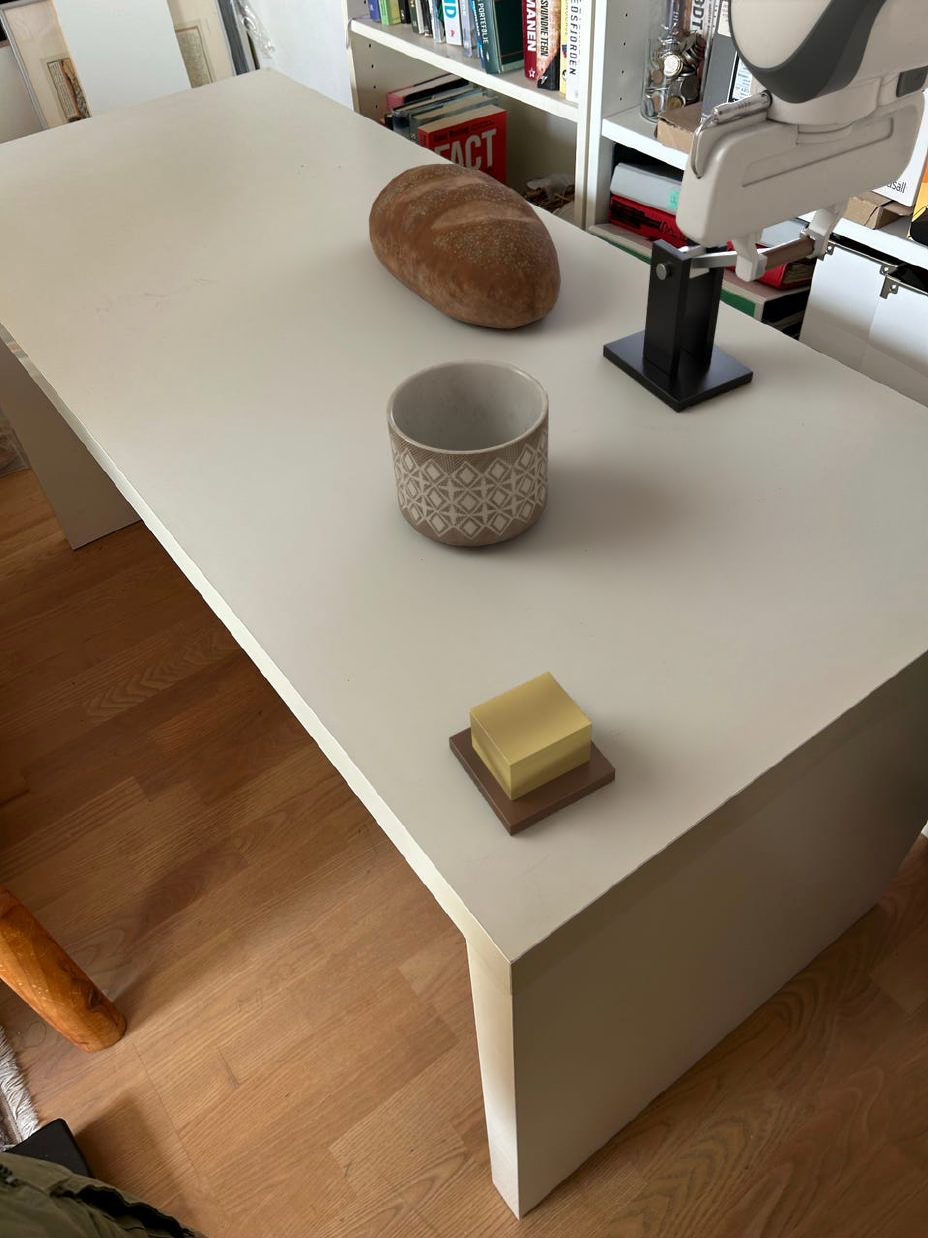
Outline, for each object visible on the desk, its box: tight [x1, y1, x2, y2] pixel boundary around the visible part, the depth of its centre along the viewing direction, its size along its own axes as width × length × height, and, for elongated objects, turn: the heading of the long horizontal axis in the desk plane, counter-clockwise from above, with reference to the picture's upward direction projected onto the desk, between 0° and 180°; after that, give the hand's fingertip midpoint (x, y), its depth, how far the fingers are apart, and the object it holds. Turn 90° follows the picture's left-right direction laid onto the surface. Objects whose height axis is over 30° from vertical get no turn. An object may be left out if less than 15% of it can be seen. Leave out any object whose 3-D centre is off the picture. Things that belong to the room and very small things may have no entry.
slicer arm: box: [677, 236, 812, 279], centre depth 82 cm, size 14×5×2 cm, turn 30°
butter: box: [448, 671, 617, 837], centre depth 62 cm, size 8×8×5 cm
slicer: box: [602, 237, 755, 413], centre depth 90 cm, size 12×9×13 cm
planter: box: [385, 358, 550, 547], centre depth 79 cm, size 13×13×10 cm
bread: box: [368, 163, 562, 330], centre depth 106 cm, size 16×29×11 cm, turn 32°
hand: (780, 265), depth 77 cm, fingers closed on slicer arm, 5 cm apart
